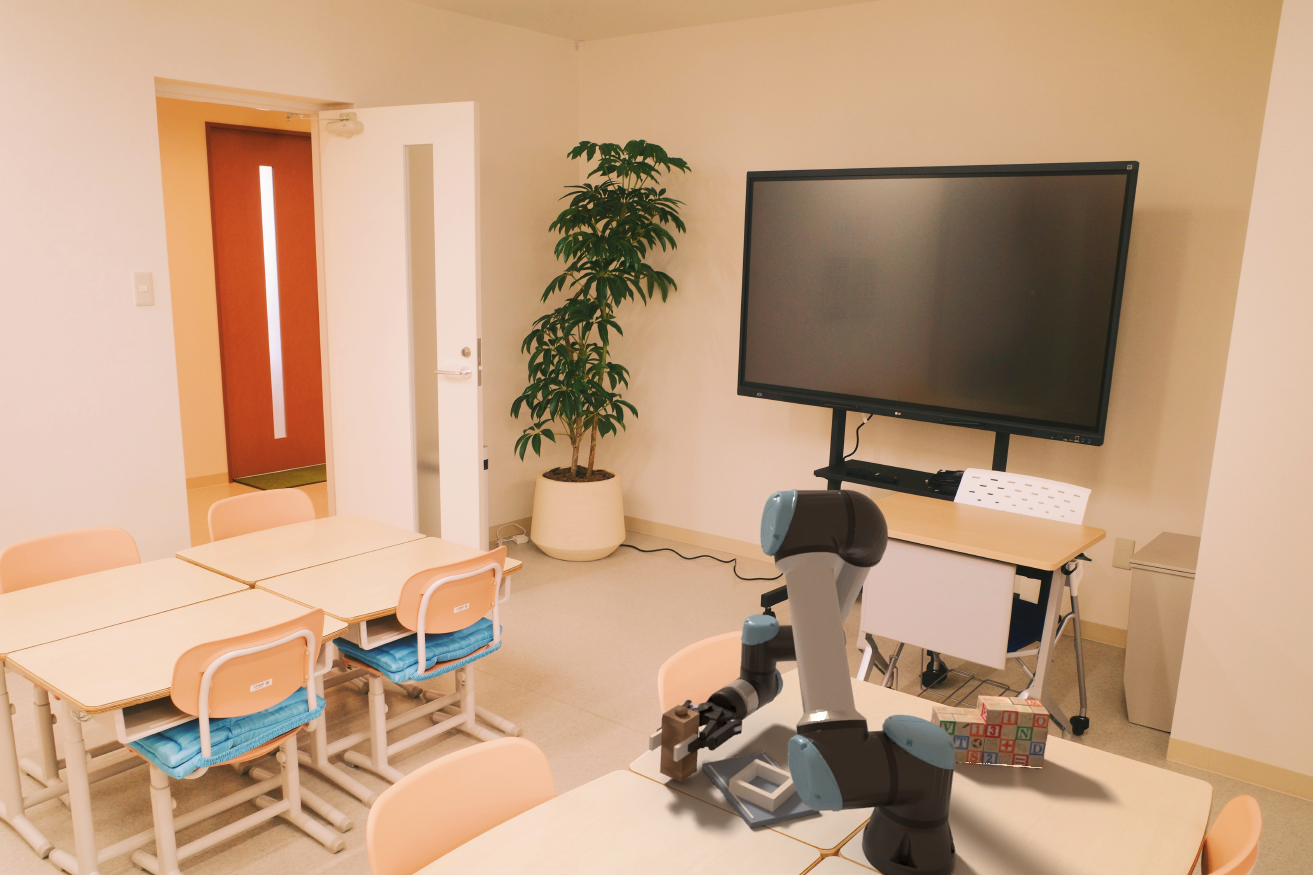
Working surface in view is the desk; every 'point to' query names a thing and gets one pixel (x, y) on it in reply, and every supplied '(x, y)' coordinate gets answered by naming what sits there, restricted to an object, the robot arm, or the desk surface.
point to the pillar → (674, 731)
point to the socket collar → (756, 795)
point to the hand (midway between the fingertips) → (663, 748)
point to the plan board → (747, 810)
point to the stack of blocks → (997, 730)
